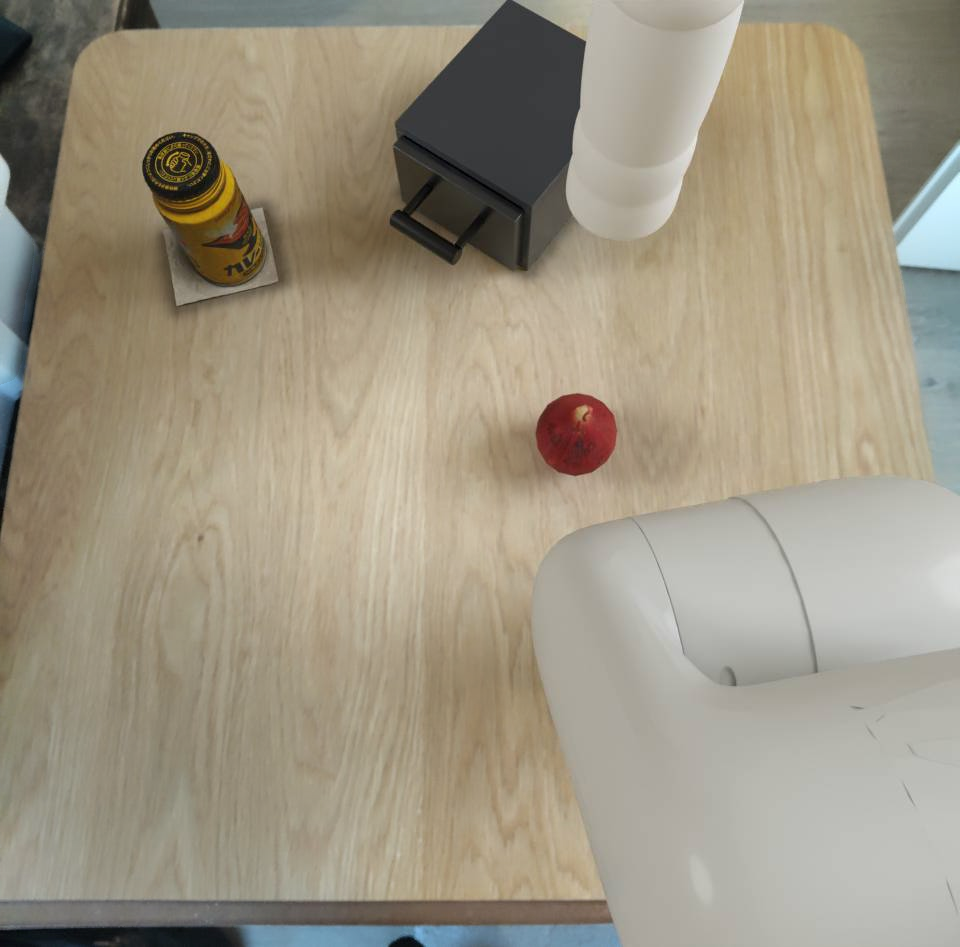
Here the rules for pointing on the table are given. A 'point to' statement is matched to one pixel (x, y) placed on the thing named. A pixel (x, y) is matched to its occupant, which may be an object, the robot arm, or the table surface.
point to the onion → (576, 434)
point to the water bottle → (643, 108)
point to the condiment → (206, 221)
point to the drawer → (454, 208)
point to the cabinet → (508, 116)
